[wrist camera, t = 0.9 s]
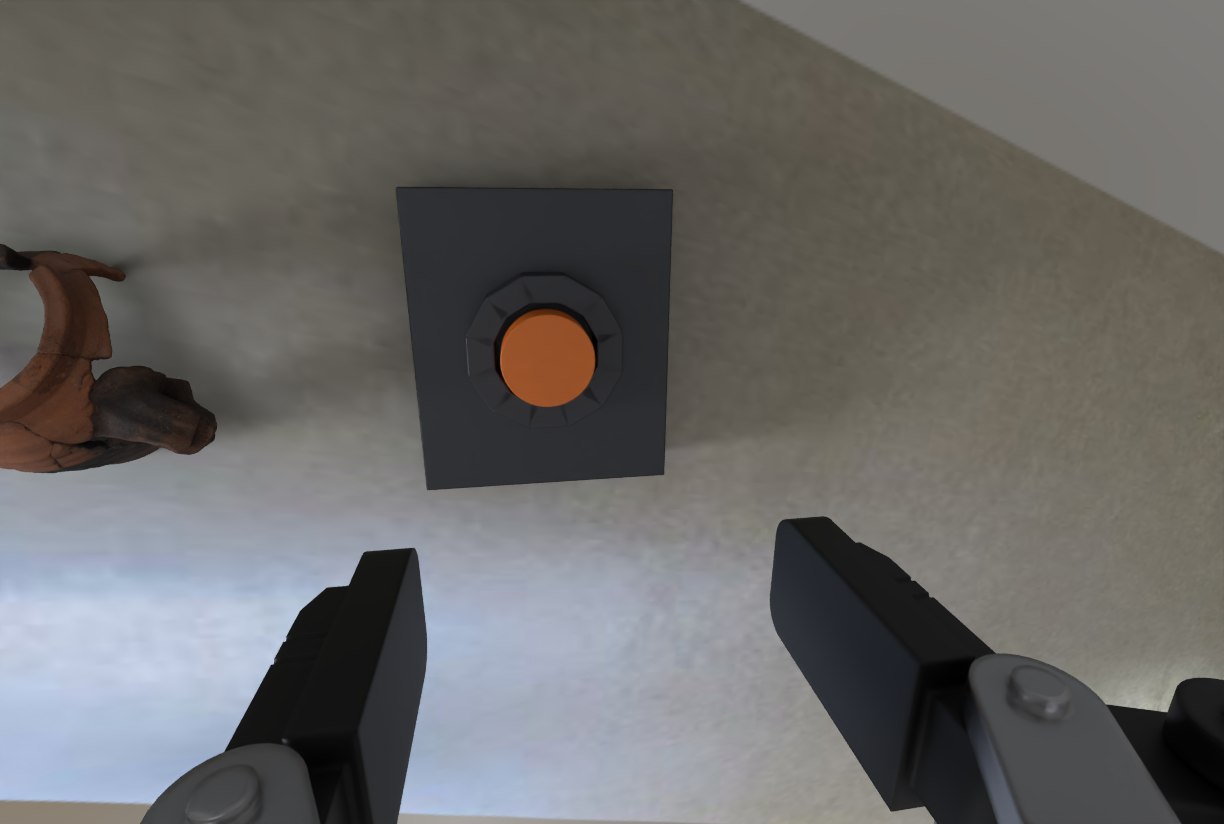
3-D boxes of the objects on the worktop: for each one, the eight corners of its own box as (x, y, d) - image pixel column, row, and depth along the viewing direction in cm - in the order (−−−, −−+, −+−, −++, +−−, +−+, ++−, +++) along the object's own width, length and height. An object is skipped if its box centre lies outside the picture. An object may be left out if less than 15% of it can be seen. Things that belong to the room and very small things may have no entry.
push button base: (407, 190, 28) (386, 184, 23) (656, 192, 30) (684, 187, 25) (434, 465, 32) (421, 507, 28) (650, 452, 34) (673, 489, 29)
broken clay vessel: (-4, 450, 29) (-230, 415, 21) (88, 278, 31) (-86, 186, 23) (230, 522, 29) (92, 514, 21) (307, 343, 31) (209, 274, 23)
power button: (498, 309, 26) (497, 315, 24) (590, 307, 26) (595, 313, 25) (503, 397, 27) (502, 409, 25) (590, 393, 28) (595, 405, 26)
